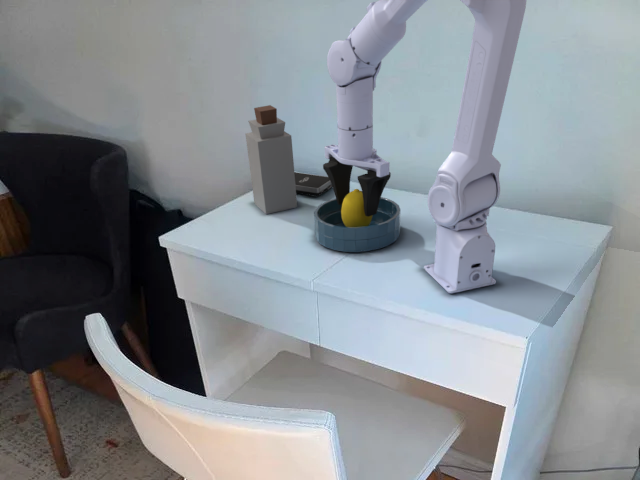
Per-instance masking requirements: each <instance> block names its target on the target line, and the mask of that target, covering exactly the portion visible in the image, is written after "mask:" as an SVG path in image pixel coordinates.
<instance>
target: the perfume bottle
mask: <svg viewBox="0 0 640 480" xmlns="http://www.w3.org/2000/svg"><path fill="white" fill-rule="evenodd" d="M253 110H254V115H255V119H250V120H248V125H249V127H250V132H245V142H246V149H247V157H248V165H249V172H250V181H251V189H252V196H253V197H252V198H253V204H254V205H255V206H256V207H257V208H259V210H260V211H262V212H263V213H264V214H265V215H269V214H273V213H278V212H282V211H286V210H291V209H295V208H298V199H297V193H296V186H295V174H294V172H295V165H294V164H295V163H294V151H293V139H292V134H289V133H288V132H286V131H285V128H286V121H284V120H282V119H281V118H279V117H278V115H277V114H278V112H277V111H278V110H277V108H276V107H274V106H272V105H271V104H269V105H264V106H257V107H254V108H253Z"/></svg>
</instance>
